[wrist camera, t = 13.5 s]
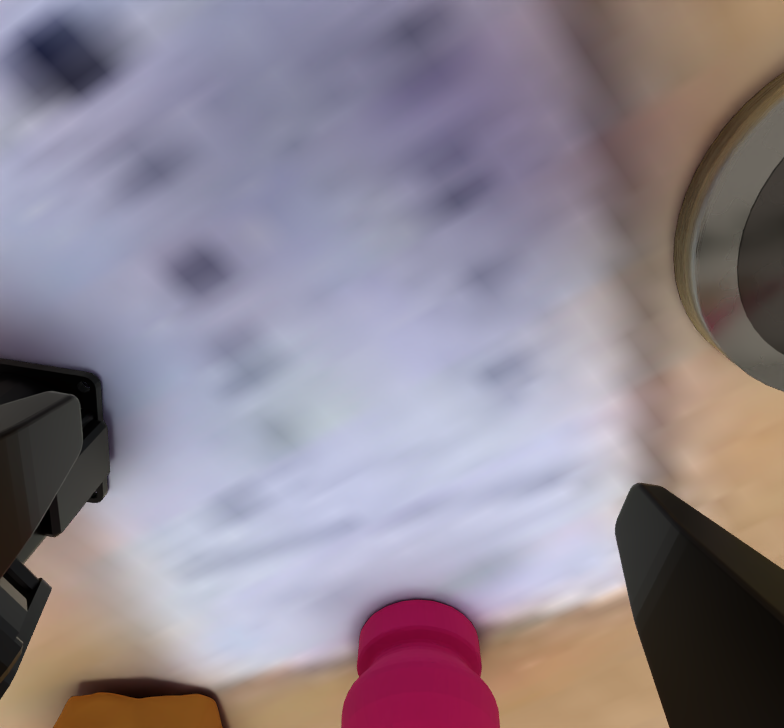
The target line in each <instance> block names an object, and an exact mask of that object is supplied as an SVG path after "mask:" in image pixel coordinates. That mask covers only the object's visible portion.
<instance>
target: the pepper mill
mask: <svg viewBox="0 0 784 728" xmlns="http://www.w3.org/2000/svg"><path fill="white" fill-rule="evenodd" d="M481 670H482V665H481V656H480V648H479V640H478V636H477V632H476V630H475V628H474V626H473V625H472V623H471V622H470V621H469V620H468V619H467V618H466V617H465V616H464V615H463V614H462V613H460V612H459V611H457V610H456V609H454V608H453V607H451V606H448V605H445V604H442V603H439V602H436V601H430V600H407V601H400V602H397V603H394V604H391V605H388V606H386V607H384V608H383V609H381V610H379V611H378V612H376V613H374V614H373V615H372V616H371V617H370V618H369V619H368V621H367V622H366V623H365V625H364V626H363V628H362V630H361V633H360V638H359V649H358V661H357V671H358V675H359V678H358V679H357V680H356V681H355V682H354V684H353V685H352V687H351V689H350V690H349V692H348V694H347V696H346V699H345V701H344V705H343V711H342V726H341V728H500V722H499V711H498V707H497V704H496V700H495V698H494V696H493V694H492V692H491V690H490V689H489V687H488V686H487V685H486V684H485V682H484V681H483V680H482V679H481V678H480V676H481Z"/></svg>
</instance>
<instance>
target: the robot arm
mask: <svg viewBox="0 0 784 728" xmlns="http://www.w3.org/2000/svg"><path fill="white" fill-rule="evenodd" d="M83 382H86V383H87V384H88V385H89V387H90V388H87V387H85V386H84V385H83ZM109 473H110V461H109V445H108V429H107V426H106V424H105V422H104V421H103V410H102V395H101V383H100V380H99V379H98V378H97V376H95V375H94V374H93V373H89V372H85V371H78V370H72V369H66V368H59V367H53V366H46V365H40V364H34V363H27V362H21V361H14V360H8V359H1V358H0V699H1V697H2V696H3V695H4V693H5V692H6V690H7V689H8V687H9V686H10V684H11V682H12V680H13V678H14V676H15V674H16V672H17V670H18V668H19V665H20V663H21V661H22V658H23V656H24V653H25V651H26V649H27V646H28V644H29V642H30V639H31V637H32V635H33V632H34V630H35V627H36V625H37V623H38V620H39V618H40V616H41V613H42V611H43V609H44V606H45V604H46V601H47V599H48V597H49V594H50V592H51V590H52V588H51V587H50V586H49V585H48V584H47V583H46V582H45V581H44V580H43V579H42V578H39V579H38V578H37V577H36V576H35V575H34V574H33V573H32V572H31V571H30V570H29V569H28V568H27V567H26V566H25V565H24V563H25V562H26V561H27V559H28V558H29V557H30V556H31V554H32V553H33V552H34V551H35V550H36V548H37V547H38V546H39V545H40V544H41V542H42V541H43V540H44V539H45V537H46V536H50V537H56V536H58V535H59V534H61V533H62V532H63V531H64V530H65V528H66V527H67V526H68V525H69V523H70V522H71V521H72V520H73V518H74V517H75V516H76V515H77V513H78V512H79V511H80V510H81V508H82V507H83V506H84V504H85V503H86V502H91V503H98V502H100V501H101V500H102V499H103V498H104V497H105V495H106V494H107V491H108V486H107V475H108V474H109ZM95 491H96V492H97V493H96V492H95ZM615 536H616V541H617V545H618V550H619V554H620V559H621V564H622V568H623V573H624V577H625V582H626V587H627V591H628V596H629V600H630V605H631V609H632V613H633V617H634V621H635V624H636V628H637V631H638V634H639V637H640V640H641V643H642V646H643V649H644V652H645V655H646V658H647V661H648V664H649V667H650V670H651V673H652V676H653V679H654V682H655V685H656V688H657V691H658V694H659V697H660V700H661V703H662V706H663V709H664V712H665V715H666V718H667V721H668V724H669V727H670V728H784V570H783V569H782V568H780V567H779V566H777V565H776V564H775V563H773V562H772V561H770V560H769V559H767V558H766V557H764V556H763V555H761V554H760V553H758V552H757V551H756V550H754V549H753V548H751V547H750V546H748V545H747V544H745V543H744V542H742V541H741V540H739V539H738V538H737V537H735V536H734V535H732V534H731V533H729V532H728V531H726V530H725V529H723V528H722V527H720V526H719V525H718V524H716V523H715V522H713V521H712V520H710V519H709V518H707V517H706V516H704V515H703V514H701V513H700V512H699V511H697V510H696V509H694V508H693V507H691V506H690V505H688V504H687V503H685V502H684V501H682V500H681V499H680V498H678V497H677V496H675V495H674V494H672V493H671V492H669V491H668V490H666V489H665V488H663V487H661V486H658V485H652V484H645V483H636V484H634V485H633V486H632V487H631V489H630V491H629V493H628V495H627V498H626V500H625V502H624V504H623V507H622V509H621V511H620V514H619V516H618V518H617V521H616V525H615Z"/></svg>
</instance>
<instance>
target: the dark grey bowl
mask: <svg viewBox="0 0 784 728" xmlns="http://www.w3.org/2000/svg"><path fill="white" fill-rule="evenodd" d="M674 268H675V279H676V283H677V287H678V291H679V295H680V299H681V301H682V303H683V306H684V308H685V310H686V313H687V315H688V316H689V318H690V320H691V321H692V323H693V324H694V326H695V328H696V329H697V330H698V331H699V332H700V334H701V335H702V336H703V337H704V338H705V339H706V340H707V341H708V342H709V343H710V344H711V345H712V346H714V347H715V348H716V349H717V350H719V351H720V352H721V353H722V354H723V355H725V356H726V357H727V358H728V359H730V360H731V361H732V362H733V363H735V364H736V365H737V366H738V367H740V368H741V369H742V370H743V371H745V372H746V373H747V374H748V375H750V376H751V377H753V378H755V379H757V380H758V381H760V382H762V383H764V384H765V385H768V386H770V387H773V388H776V389H778V390H781V391H783V392H784V73H782V74H781V75H780V76H778V77H777V78H776V79H774V80H773V81H771V82H770V83H769V84H767V85H766V86H765V87H764V88H763V89H762V90H761V91H759V92H758V93H757V94H756V95H755V96H754V97H753V98H752V99H751V100H750V101H748V102H747V103H746V104H745V105H744V106H743V107H742V108H741V110H740V111H739V112H738V113H737V114H736V115H735V116H734V117H733V118H732V120H731V121H730V122H729V123H728V124H727V125H726V126H725V128H724V129H723V130H722V132H721V133H720V134H719V136H718V137H717V139H716V140H715V141H714V143H713V144H712V145H711V147H710V148H709V150H708V152H707V153H706V155H705V157H704V158H703V160H702V162H701V163H700V165H699V167H698V169H697V170H696V172H695V175H694V177H693V179H692V181H691V184H690V186H689V188H688V190H687V193H686V195H685V198H684V202H683V205H682V208H681V211H680V214H679V218H678V224H677V229H676V235H675V245H674Z"/></svg>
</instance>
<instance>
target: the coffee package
mask: <svg viewBox="0 0 784 728" xmlns="http://www.w3.org/2000/svg"><path fill="white" fill-rule="evenodd" d="M53 728H223V727H222V724H221V719H220V715H219V712H218V708H217V704H216V702H215V701H214V700H213V699H211V698H210V697H207V696H204V695H200V694H189V695H181V696H157V697H147V698H141V699H136V698H132V697H128V696H124V695H119V694H114V693H106V692H99V693H94V694H90V695H83V696H73V697H71V698H70V699H69V700H68V702H67V703H66V705H65V707H64V709H63V711H62V713H61V715H60V716H59V718H58V720H57V722H56V723H55V725H54V727H53Z"/></svg>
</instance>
